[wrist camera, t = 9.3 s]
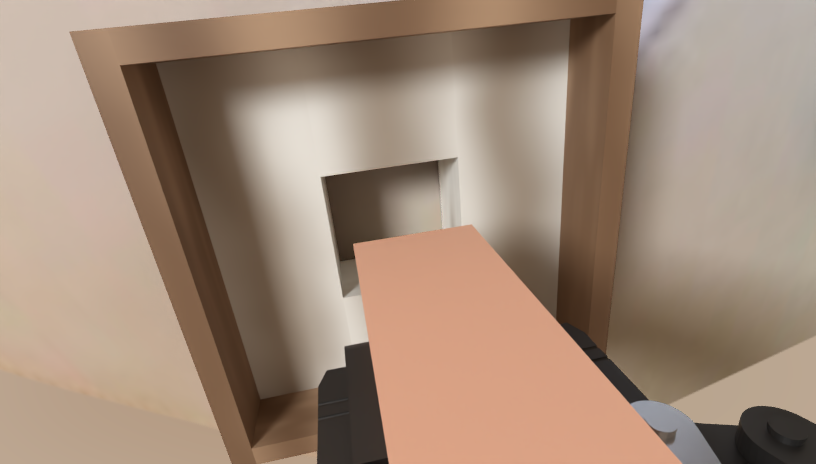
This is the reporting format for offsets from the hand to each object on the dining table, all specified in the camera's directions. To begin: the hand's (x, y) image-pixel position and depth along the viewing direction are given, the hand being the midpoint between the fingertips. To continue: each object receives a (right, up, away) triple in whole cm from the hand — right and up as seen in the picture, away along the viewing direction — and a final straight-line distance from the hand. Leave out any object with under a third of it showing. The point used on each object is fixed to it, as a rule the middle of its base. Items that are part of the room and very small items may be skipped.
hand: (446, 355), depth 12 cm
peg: (-1, +1, +3) cm, 4 cm away
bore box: (-2, +5, +12) cm, 13 cm away
